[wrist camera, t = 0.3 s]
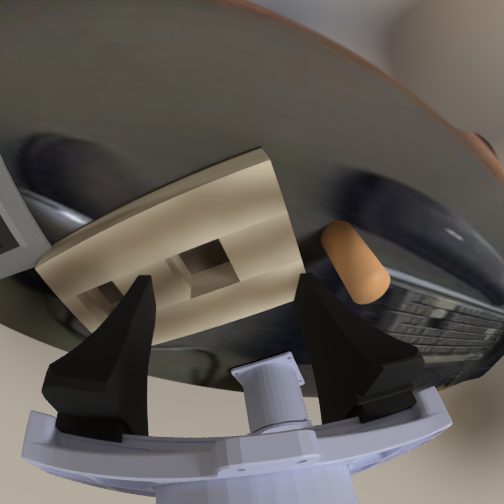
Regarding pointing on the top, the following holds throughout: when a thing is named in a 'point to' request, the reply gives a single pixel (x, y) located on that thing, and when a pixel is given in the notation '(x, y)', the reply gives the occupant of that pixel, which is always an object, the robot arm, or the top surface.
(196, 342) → the top surface
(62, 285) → the socket board
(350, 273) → the dowel
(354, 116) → the top surface
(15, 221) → the electrical outlet
